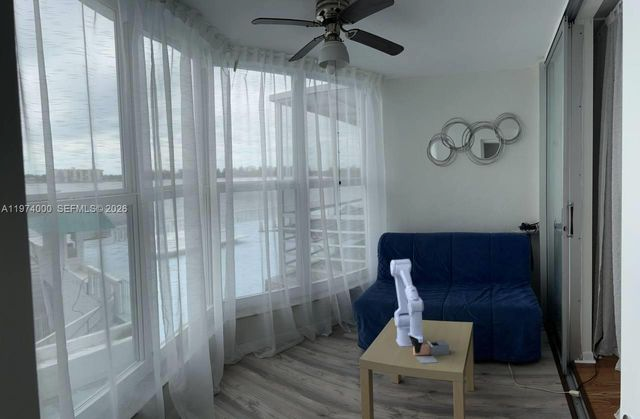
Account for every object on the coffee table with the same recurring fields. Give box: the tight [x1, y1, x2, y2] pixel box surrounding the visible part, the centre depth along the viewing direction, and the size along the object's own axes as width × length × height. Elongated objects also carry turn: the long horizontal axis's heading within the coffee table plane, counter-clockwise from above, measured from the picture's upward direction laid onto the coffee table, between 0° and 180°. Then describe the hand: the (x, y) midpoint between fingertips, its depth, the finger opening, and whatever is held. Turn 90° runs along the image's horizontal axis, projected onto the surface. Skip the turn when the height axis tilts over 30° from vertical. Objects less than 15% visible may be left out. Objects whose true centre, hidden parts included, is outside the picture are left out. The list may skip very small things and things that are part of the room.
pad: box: [416, 355, 439, 365], centre depth 202 cm, size 7×8×1 cm
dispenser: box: [426, 339, 450, 357], centre depth 209 cm, size 6×9×5 cm, turn 95°
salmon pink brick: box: [412, 344, 431, 356], centre depth 209 cm, size 2×8×4 cm, turn 95°
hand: (416, 351), depth 209 cm, fingers closed on salmon pink brick, 2 cm apart
